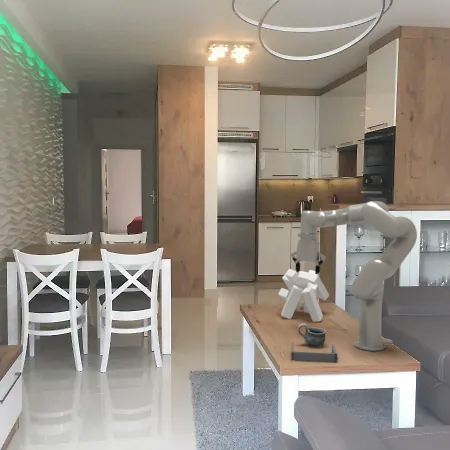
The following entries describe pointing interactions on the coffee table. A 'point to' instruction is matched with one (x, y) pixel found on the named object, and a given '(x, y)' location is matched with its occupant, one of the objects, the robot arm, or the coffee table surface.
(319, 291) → the white crossed bars sculpture
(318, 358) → the frame
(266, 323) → the coffee table surface
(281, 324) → the coffee table surface
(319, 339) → the mug
